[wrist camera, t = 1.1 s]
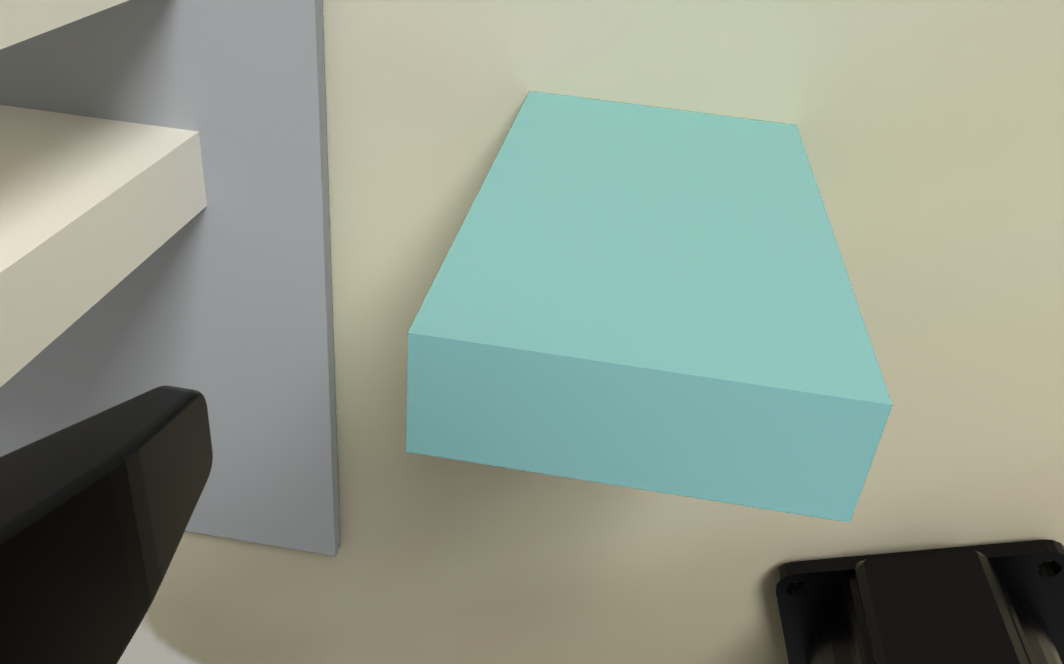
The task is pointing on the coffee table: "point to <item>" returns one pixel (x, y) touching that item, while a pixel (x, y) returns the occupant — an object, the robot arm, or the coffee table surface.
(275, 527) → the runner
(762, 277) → the domino
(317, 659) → the coffee table surface
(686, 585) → the coffee table surface
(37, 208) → the domino
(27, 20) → the domino
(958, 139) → the coffee table surface
